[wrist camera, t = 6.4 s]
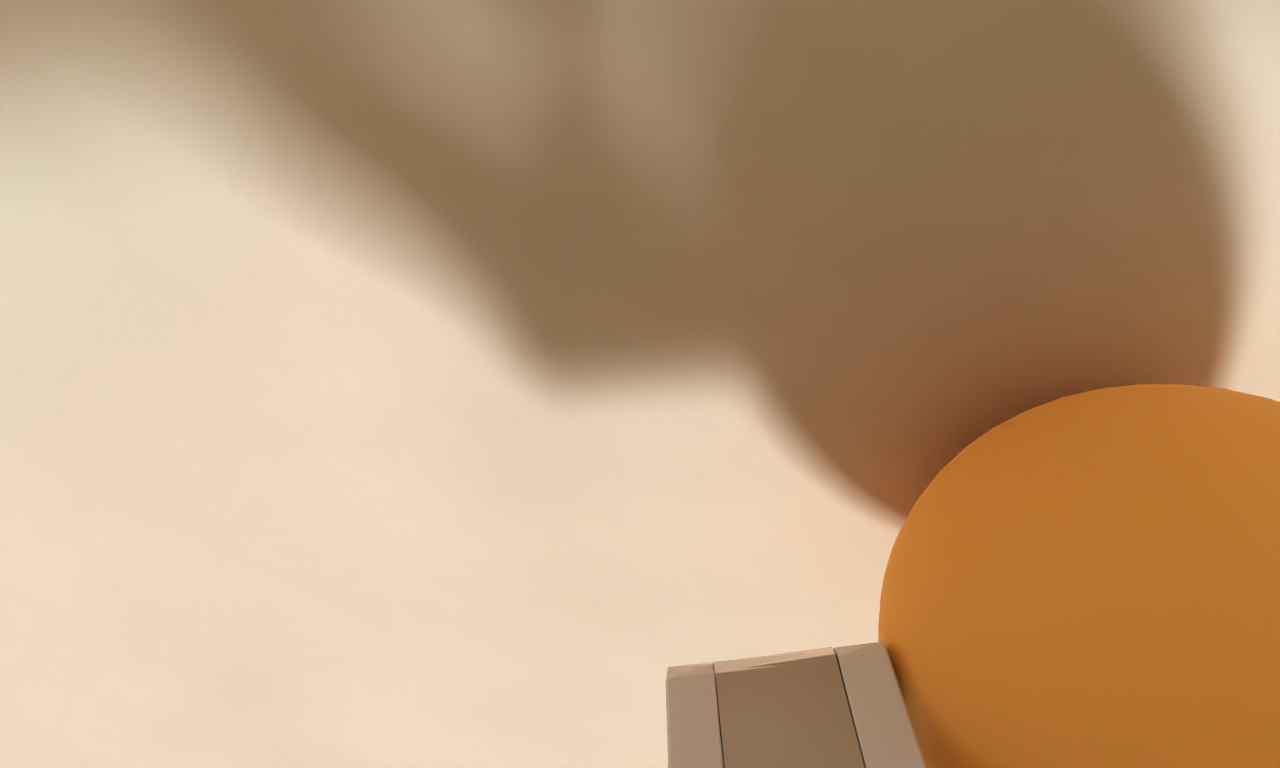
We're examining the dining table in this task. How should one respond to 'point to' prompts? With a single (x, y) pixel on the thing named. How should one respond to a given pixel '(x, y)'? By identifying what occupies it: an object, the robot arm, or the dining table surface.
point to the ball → (1097, 587)
